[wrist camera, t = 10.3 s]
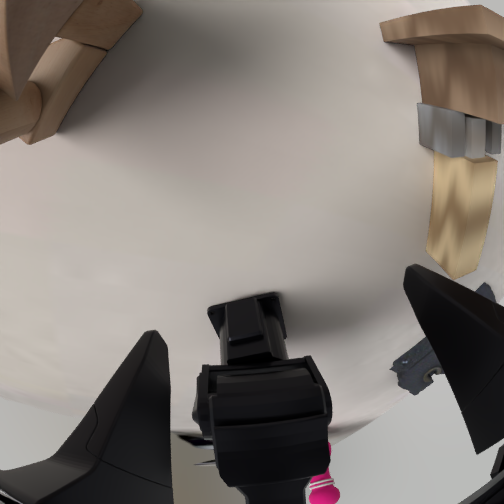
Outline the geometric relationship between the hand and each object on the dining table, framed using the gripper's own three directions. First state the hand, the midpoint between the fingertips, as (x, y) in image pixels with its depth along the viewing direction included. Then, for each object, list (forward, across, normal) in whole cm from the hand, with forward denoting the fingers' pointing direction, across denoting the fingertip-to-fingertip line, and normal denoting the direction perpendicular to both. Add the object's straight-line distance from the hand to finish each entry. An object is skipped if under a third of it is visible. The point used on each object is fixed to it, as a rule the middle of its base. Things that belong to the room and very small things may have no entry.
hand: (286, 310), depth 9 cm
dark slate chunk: (+13, -27, +32) cm, 43 cm away
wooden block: (+12, +9, -13) cm, 20 cm away
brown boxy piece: (+12, -18, -7) cm, 23 cm away
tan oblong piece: (+12, -18, +3) cm, 22 cm away
